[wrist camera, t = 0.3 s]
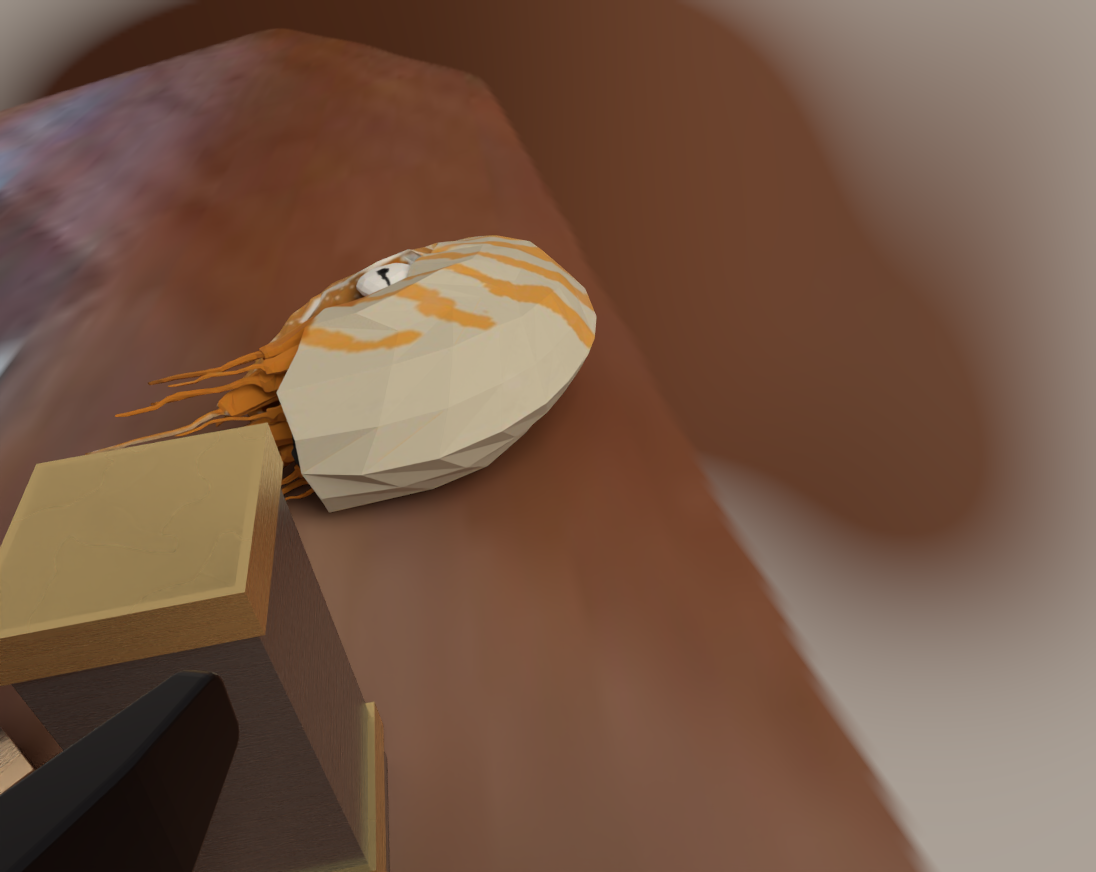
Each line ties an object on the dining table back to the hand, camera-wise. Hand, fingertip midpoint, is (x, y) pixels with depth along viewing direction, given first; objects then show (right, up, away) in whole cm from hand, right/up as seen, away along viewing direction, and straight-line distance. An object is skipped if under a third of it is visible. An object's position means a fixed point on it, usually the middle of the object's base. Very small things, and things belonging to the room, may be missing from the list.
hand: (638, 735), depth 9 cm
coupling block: (-8, -9, +17) cm, 21 cm away
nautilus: (-9, +2, +31) cm, 33 cm away
